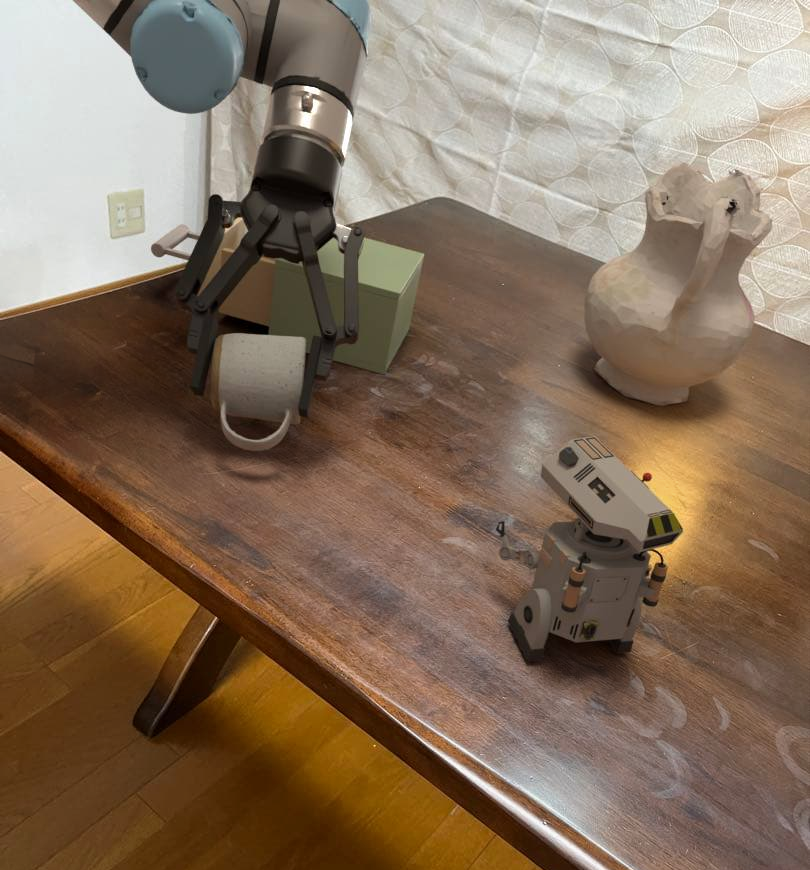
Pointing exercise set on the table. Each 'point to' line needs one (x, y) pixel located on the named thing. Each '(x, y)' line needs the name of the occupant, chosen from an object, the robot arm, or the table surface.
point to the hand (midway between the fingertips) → (249, 402)
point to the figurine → (592, 553)
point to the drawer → (250, 292)
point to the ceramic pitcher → (678, 288)
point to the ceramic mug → (258, 382)
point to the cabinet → (378, 301)
